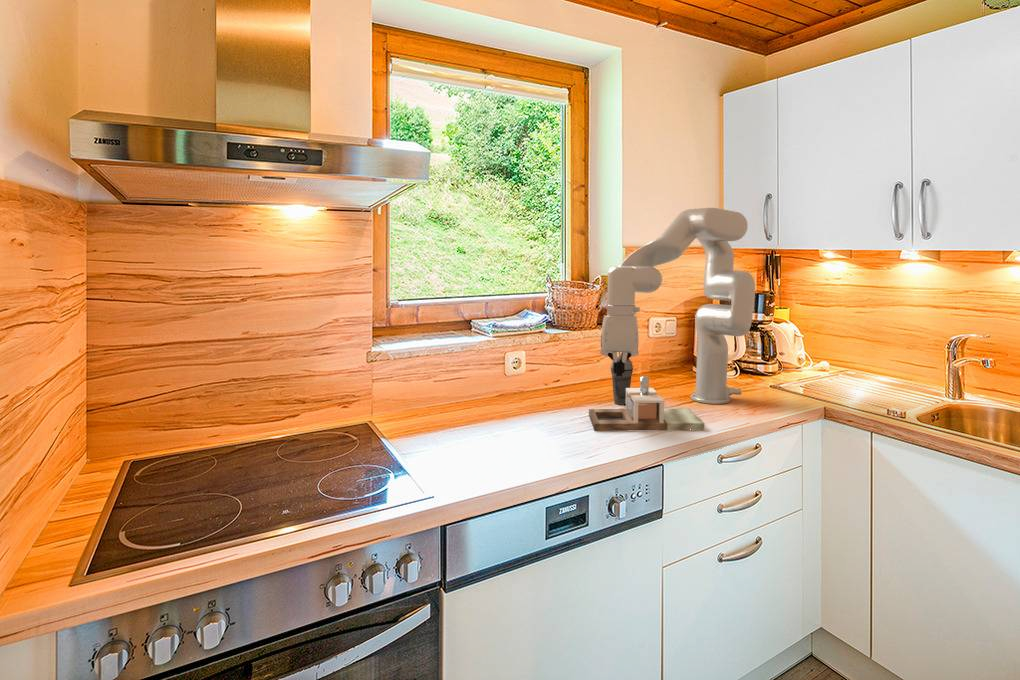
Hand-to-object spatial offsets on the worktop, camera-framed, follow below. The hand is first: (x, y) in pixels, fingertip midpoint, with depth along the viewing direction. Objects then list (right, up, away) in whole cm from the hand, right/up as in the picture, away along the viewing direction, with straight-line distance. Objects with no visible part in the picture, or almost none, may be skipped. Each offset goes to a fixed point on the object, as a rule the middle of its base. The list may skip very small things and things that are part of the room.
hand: (618, 375), depth 158 cm
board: (+8, -14, +2) cm, 16 cm away
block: (+8, -12, +2) cm, 14 cm away
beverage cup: (+5, -11, +23) cm, 26 cm away
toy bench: (+8, -12, +2) cm, 14 cm away
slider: (+8, -11, +2) cm, 14 cm away
